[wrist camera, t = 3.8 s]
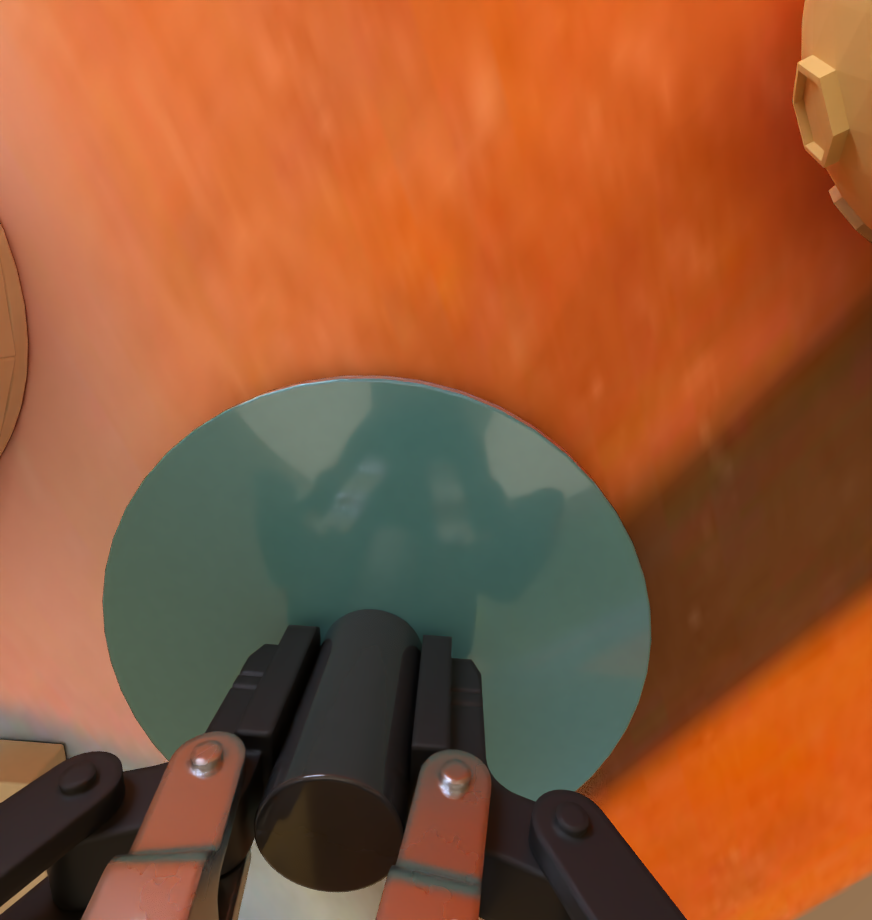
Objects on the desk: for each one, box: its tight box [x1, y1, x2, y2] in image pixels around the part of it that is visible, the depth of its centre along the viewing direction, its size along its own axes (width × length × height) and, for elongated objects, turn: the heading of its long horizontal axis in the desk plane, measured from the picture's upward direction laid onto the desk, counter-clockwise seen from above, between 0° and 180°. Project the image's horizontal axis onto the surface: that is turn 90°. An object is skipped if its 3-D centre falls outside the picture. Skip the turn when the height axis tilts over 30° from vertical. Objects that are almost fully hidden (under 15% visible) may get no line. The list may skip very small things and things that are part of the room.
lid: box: [103, 375, 651, 892], centre depth 12 cm, size 14×14×6 cm
